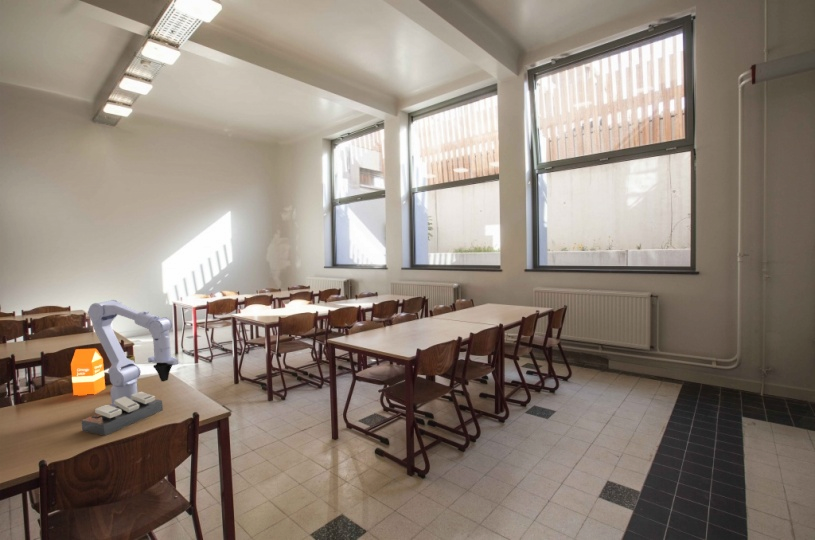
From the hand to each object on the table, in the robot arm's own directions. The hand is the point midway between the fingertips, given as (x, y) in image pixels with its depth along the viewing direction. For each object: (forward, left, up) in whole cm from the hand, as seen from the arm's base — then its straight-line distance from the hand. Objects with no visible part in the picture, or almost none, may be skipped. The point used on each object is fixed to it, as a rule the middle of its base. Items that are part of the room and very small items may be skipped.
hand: (164, 380), depth 164 cm
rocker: (-1, -22, -5) cm, 22 cm away
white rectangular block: (-1, -9, -5) cm, 10 cm away
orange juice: (-49, +1, -11) cm, 50 cm away
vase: (-37, +11, -11) cm, 40 cm away
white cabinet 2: (-1, -15, -5) cm, 16 cm away
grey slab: (-3, -13, -10) cm, 17 cm away
